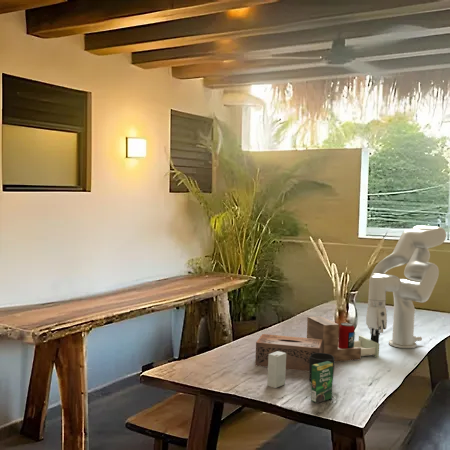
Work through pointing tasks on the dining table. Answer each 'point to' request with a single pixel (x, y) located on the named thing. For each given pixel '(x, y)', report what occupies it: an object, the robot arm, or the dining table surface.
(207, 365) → the dining table surface
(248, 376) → the dining table surface
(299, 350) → the tissue box cover
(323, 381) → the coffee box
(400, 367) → the dining table surface
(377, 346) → the tray
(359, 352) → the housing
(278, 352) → the skincare box
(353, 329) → the beverage can
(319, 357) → the pen holder
